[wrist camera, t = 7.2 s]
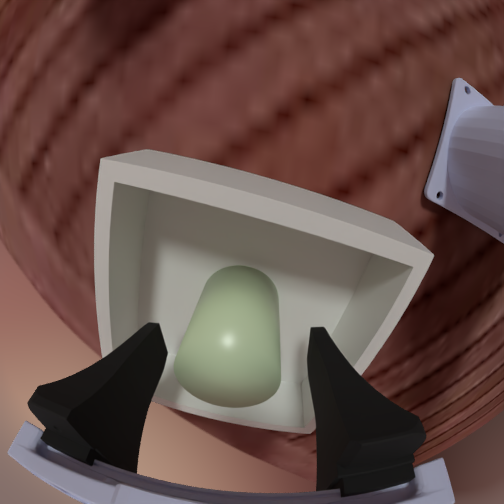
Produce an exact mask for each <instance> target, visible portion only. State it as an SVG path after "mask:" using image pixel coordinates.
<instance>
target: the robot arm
mask: <svg viewBox="0 0 504 504" xmlns="http://www.w3.org/2000/svg"><path fill="white" fill-rule="evenodd" d="M465 88H466V90H467V93H466V92H465ZM438 192H440V196H439V198H437V197H436V196H437V193H438ZM424 194H425V197H426V198H427V199H429V200H431V201H433V202H434V203H436V204H438V205H440V206H442V207H444V208H446V209H448V210H449V211H451V212H453V213H455V214H457V215H458V216H460V217H462V218H464V219H465V220H467V221H469V222H470V223H472V224H474V225H475V226H477V227H479V228H480V229H482V230H484V231H485V232H487V233H488V234H490V235H491V236H493V237H495V238H496V239H498V240H499V241H501V242H502V243H504V106H494V105H493V104H491V103H490V102H489V101H488V100H487V99H486V98H485V97H484V96H482V95H481V94H480V93H479V92H478V91H477V90H475V89H474V88H473V87H472V86H470V85H469V84H468V83H467V82H465V81H464V80H463V79H461V78H456V79H454V80H453V83H452V89H451V94H450V99H449V104H448V109H447V113H446V118H445V122H444V126H443V130H442V134H441V137H440V141H439V145H438V148H437V152H436V155H435V158H434V162H433V165H432V168H431V171H430V174H429V177H428V180H427V183H426V186H425V189H424ZM167 356H168V351H167V347H166V344H165V341H164V337H163V334H162V331H161V327H160V323H153V322H148V323H147V324H145V325H144V326H143V327H142V328H140V329H139V330H138V331H137V332H136V333H134V334H133V335H132V336H131V337H130V338H128V339H127V340H126V341H125V342H124V343H122V344H121V345H120V346H119V347H117V348H116V349H115V350H113V351H112V352H111V353H109V354H108V355H107V356H105V357H104V358H102V359H101V360H99V361H98V362H96V363H95V364H93V365H91V366H89V367H88V368H86V369H84V370H82V371H80V372H78V373H76V374H74V375H72V376H69V377H66V378H64V379H61V380H58V381H55V382H52V383H48V384H45V385H41V386H38V387H37V389H36V390H35V392H34V393H33V395H32V397H31V398H30V399H29V401H28V406H29V409H30V410H31V411H32V413H33V414H34V415H35V416H36V417H37V418H38V420H39V421H40V422H41V423H42V424H43V425H44V426H45V427H46V429H45V431H44V432H43V431H42V430H41V429H40V428H38V427H36V426H35V425H33V424H31V423H29V422H28V421H25V422H24V424H23V426H22V427H21V429H20V431H19V432H18V434H17V436H16V438H15V439H14V441H13V443H12V445H11V447H10V449H9V451H8V454H9V455H10V456H11V457H12V458H13V459H15V460H16V461H17V462H18V463H20V464H21V465H22V466H23V467H25V468H26V469H27V470H29V471H30V472H31V473H33V474H34V475H36V476H37V477H39V478H40V479H41V480H43V481H45V482H46V483H48V484H50V485H51V486H53V487H54V488H56V489H58V490H60V491H61V492H63V493H65V494H67V495H68V496H70V497H72V498H74V499H76V500H78V501H80V502H81V503H84V504H453V503H454V502H455V499H454V495H453V491H452V487H451V483H450V480H449V476H448V473H447V470H446V466H445V463H444V460H443V458H438V459H436V460H433V461H430V462H428V463H424V464H422V465H419V466H417V467H415V468H414V469H413V465H412V463H413V462H414V460H415V459H414V455H413V453H414V452H415V451H416V450H417V449H418V448H419V447H420V446H421V445H422V444H423V442H424V441H425V439H426V433H425V430H424V427H423V425H422V423H421V421H420V419H419V417H418V416H416V415H414V414H412V413H410V412H408V411H406V410H404V409H403V408H401V407H399V406H398V405H396V404H394V403H393V402H391V401H390V400H388V399H387V398H386V397H385V396H383V395H382V394H381V393H379V392H378V391H377V390H375V389H374V388H373V387H372V386H371V385H370V384H369V383H368V382H367V381H366V380H365V379H364V378H363V377H362V376H361V375H360V374H359V373H358V372H357V371H356V370H355V369H354V368H353V366H352V365H351V364H350V363H349V362H348V360H347V359H346V358H345V357H344V355H343V354H342V353H341V351H340V350H339V349H338V347H337V346H336V344H335V343H334V341H333V340H332V338H331V337H330V335H329V333H328V332H327V330H326V328H324V327H311V328H310V337H309V345H308V352H307V370H308V380H309V385H310V391H311V396H312V402H313V408H314V413H315V421H316V441H317V486H316V491H314V492H300V493H246V492H231V491H221V490H213V489H205V488H198V487H192V486H186V485H181V484H176V483H171V482H167V481H162V480H158V479H154V478H150V477H147V476H143V475H139V474H137V465H138V455H139V448H140V442H141V437H142V432H143V427H144V423H145V419H146V415H147V411H148V408H149V405H150V403H151V400H152V398H153V395H154V393H155V390H156V388H157V386H158V383H159V381H160V378H161V376H162V373H163V371H164V367H165V364H166V360H167Z"/></svg>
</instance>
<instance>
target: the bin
mask: <svg viewBox="0 0 504 504" xmlns="http://www.w3.org/2000/svg"><path fill="white" fill-rule="evenodd" d="M433 257H434V254H433V253H432V252H430V251H429V250H428V249H427V248H426V247H425V246H424V245H422V244H421V243H420V242H419V241H418V240H416V239H415V238H414V237H413V236H412V235H411V234H409V233H408V232H407V231H406V230H404V229H403V228H402V227H401V226H399V225H398V224H397V223H396V222H394V221H392V220H390V219H387V218H385V217H382V216H380V215H377V214H374V213H372V212H369V211H366V210H364V209H361V208H358V207H356V206H353V205H350V204H347V203H344V202H342V201H339V200H336V199H333V198H330V197H327V196H324V195H321V194H318V193H315V192H312V191H309V190H306V189H303V188H299V187H296V186H293V185H290V184H287V183H283V182H280V181H277V180H273V179H270V178H266V177H263V176H259V175H256V174H252V173H248V172H245V171H241V170H237V169H233V168H229V167H225V166H222V165H217V164H213V163H209V162H205V161H201V160H197V159H192V158H188V157H183V156H179V155H174V154H169V153H164V152H159V151H154V150H149V149H147V150H141V151H135V152H130V153H125V154H119V155H115V156H110V157H105V158H101V161H100V168H99V177H98V186H97V197H96V211H95V235H94V270H95V293H96V307H97V319H98V328H99V337H100V344H101V351H102V358H104V357H105V356H107V355H108V354H109V353H111V352H112V351H113V350H115V349H116V348H117V347H119V346H120V345H121V344H122V343H124V342H125V341H126V340H127V339H128V338H130V337H131V336H132V335H133V334H134V333H136V332H137V331H138V330H139V329H140V328H142V327H143V326H144V325H145V324H147V323H148V322H153V323H160V327H161V331H162V334H163V337H164V341H165V344H166V347H167V351H168V356H167V360H166V364H165V367H164V371H163V373H162V376H161V378H160V381H159V383H158V386H157V388H156V390H155V393H154V395H153V398H152V400H151V401H152V402H155V403H158V404H161V405H164V406H168V407H171V408H174V409H177V410H181V411H184V412H188V413H191V414H195V415H199V416H203V417H207V418H211V419H215V420H220V421H224V422H229V423H234V424H239V425H244V426H250V427H256V428H262V429H269V430H276V431H285V432H294V433H305V434H311V433H312V432H313V431H314V430H315V429H316V421H315V413H314V408H313V402H312V396H311V391H310V385H309V380H308V370H307V352H308V345H309V337H310V328H311V327H324V328H326V330H327V332H328V333H329V335H330V337H331V338H332V340H333V341H334V343H335V344H336V346H337V347H338V349H339V350H340V351H341V353H342V354H343V355H344V357H345V358H346V359H347V360H348V362H349V363H350V364H351V365H352V366H353V368H354V369H355V370H356V371H357V372H358V373H359V374H360V375H362V373H363V372H364V371H365V369H366V368H367V367H368V365H369V364H370V363H371V361H372V360H373V359H374V357H375V356H376V354H377V353H378V352H379V350H380V349H381V347H382V346H383V344H384V343H385V341H386V340H387V338H388V337H389V335H390V334H391V332H392V331H393V329H394V328H395V326H396V324H397V323H398V321H399V320H400V318H401V316H402V315H403V313H404V311H405V310H406V308H407V306H408V305H409V303H410V301H411V299H412V298H413V296H414V294H415V292H416V291H417V289H418V287H419V285H420V283H421V281H422V279H423V277H424V276H425V274H426V272H427V270H428V268H429V266H430V264H431V262H432V260H433ZM235 265H242V266H248V267H252V268H255V269H257V270H259V271H261V272H263V273H264V274H266V275H267V276H268V277H269V278H270V279H271V280H272V281H273V283H274V284H275V286H276V288H277V291H278V296H279V317H280V350H281V383H280V387H279V389H278V390H277V392H276V393H275V394H274V395H273V396H272V397H271V398H269V399H268V400H266V401H265V402H263V403H260V404H257V405H254V406H250V407H243V408H228V407H221V406H216V405H213V404H209V403H207V402H204V401H202V400H200V399H198V398H196V397H195V396H193V395H191V394H190V393H189V392H187V391H186V390H185V389H184V388H183V387H182V386H181V384H180V383H179V382H178V380H177V378H176V376H175V373H174V361H175V358H176V355H177V352H178V350H179V347H180V345H181V342H182V340H183V337H184V335H185V332H186V330H187V327H188V325H189V322H190V320H191V317H192V315H193V313H194V310H195V308H196V305H197V303H198V300H199V298H200V296H201V293H202V291H203V288H204V286H205V284H206V282H207V280H208V279H209V278H210V276H211V275H212V274H214V273H215V272H216V271H218V270H220V269H222V268H225V267H228V266H235Z"/></svg>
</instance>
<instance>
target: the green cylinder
mask: <svg viewBox="0 0 504 504" xmlns="http://www.w3.org/2000/svg"><path fill="white" fill-rule="evenodd" d="M174 373H175V376H176V378H177V380H178V382H179V383H180V384H181V386H182V387H183V388H184V389H185V390H186V391H187V392H189V393H190V394H191V395H193V396H195V397H196V398H198V399H200V400H202V401H204V402H207V403H209V404H213V405H216V406H221V407H228V408H243V407H250V406H254V405H257V404H260V403H263V402H265V401H266V400H268V399H269V398H271V397H272V396H273V395H274V394H275V393H276V392H277V390H278V389H279V387H280V383H281V350H280V317H279V296H278V291H277V288H276V286H275V284H274V283H273V281H272V280H271V279H270V278H269V277H268V276H267V275H266V274H264V273H263V272H261V271H259V270H257V269H255V268H252V267H248V266H242V265H235V266H228V267H225V268H222V269H220V270H218V271H216V272H215V273H214V274H212V275H211V276H210V278H209V279H208V280H207V282H206V284H205V286H204V288H203V291H202V293H201V296H200V298H199V300H198V303H197V305H196V308H195V310H194V313H193V315H192V317H191V320H190V322H189V325H188V327H187V330H186V332H185V335H184V337H183V340H182V342H181V345H180V347H179V350H178V352H177V355H176V358H175V361H174Z"/></svg>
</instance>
